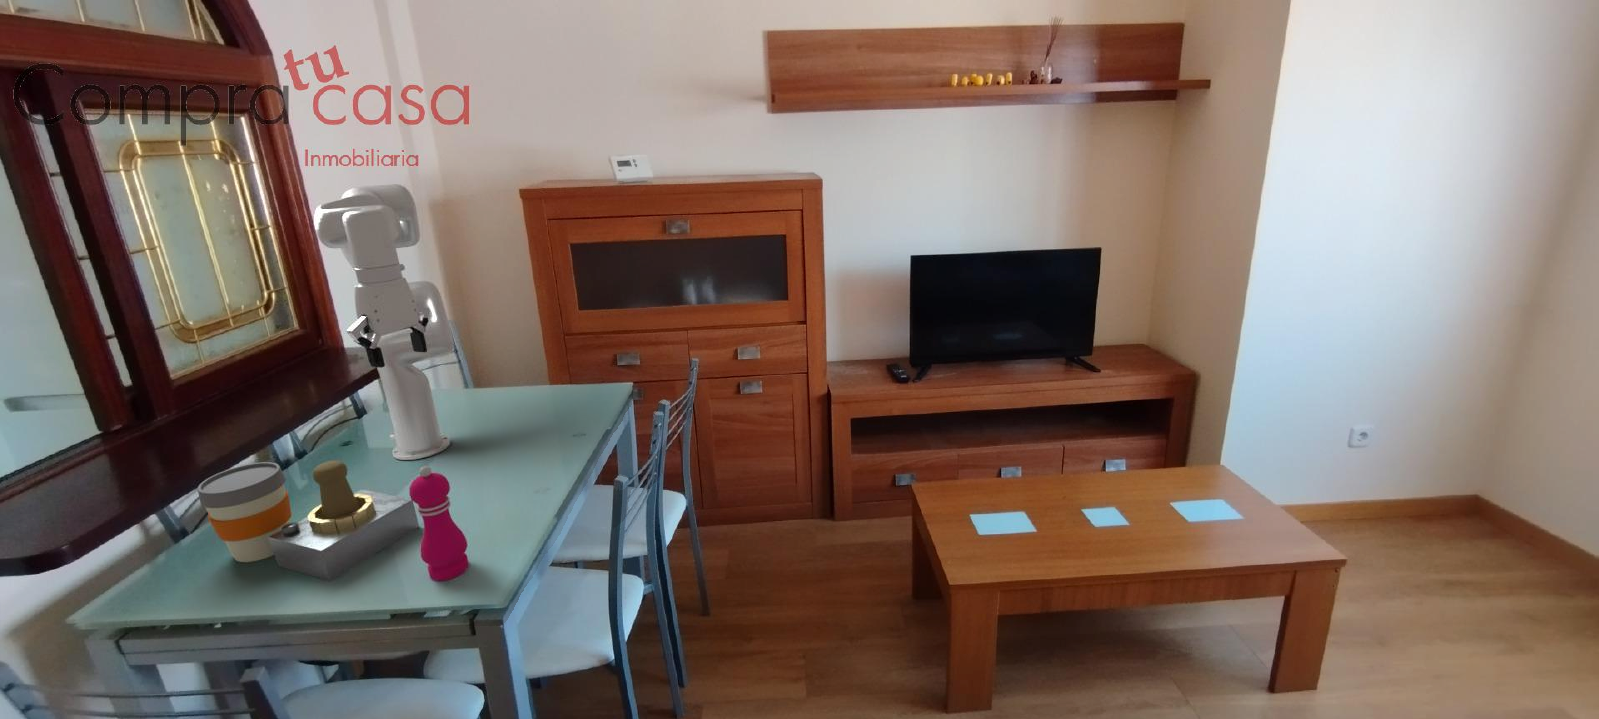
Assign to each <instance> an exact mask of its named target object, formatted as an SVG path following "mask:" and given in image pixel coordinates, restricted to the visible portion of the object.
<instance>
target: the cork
mask: <svg viewBox="0 0 1599 719" xmlns="http://www.w3.org/2000/svg"><path fill="white" fill-rule="evenodd" d="M347 475H348V467H347V465H346V464H345V463H344V462H343V461H340V460H329V461H325V462H322V463H320V464H319V465H317V466H315V468H313V471H312V477H313V480H314V482H315V483H317V484H318V485H319V486H318V487H319V493H320V494H319V495H320V502H321V504H322V512H323V520H327V519H336V518H339V517H342V516H346V515H349V514H351V513H353V512H355V511H357V510H359V509H360V507H359V504H358V502H357V500H356V498H355V496H354V492H353V490H352V487H351V485H350V484H349V481H348V479H347Z"/></svg>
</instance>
